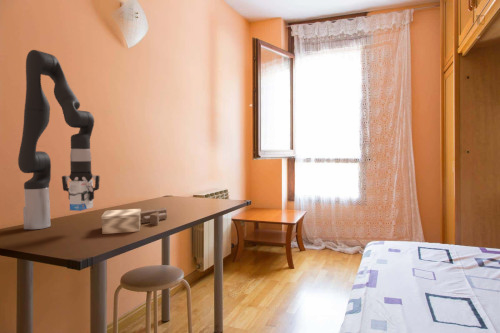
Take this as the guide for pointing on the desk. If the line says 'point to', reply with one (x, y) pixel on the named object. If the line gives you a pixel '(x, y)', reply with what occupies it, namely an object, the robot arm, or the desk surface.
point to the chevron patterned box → (121, 221)
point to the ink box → (79, 195)
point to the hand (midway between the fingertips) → (81, 200)
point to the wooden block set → (153, 216)
